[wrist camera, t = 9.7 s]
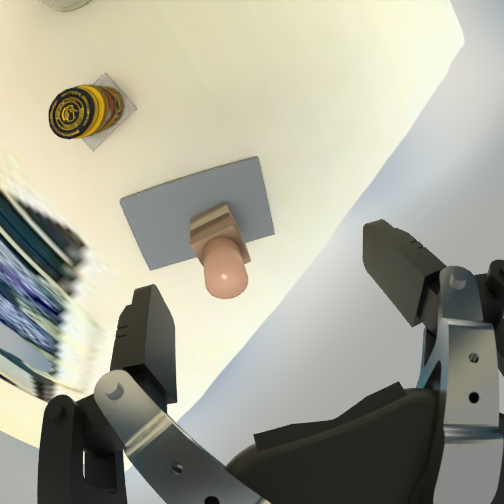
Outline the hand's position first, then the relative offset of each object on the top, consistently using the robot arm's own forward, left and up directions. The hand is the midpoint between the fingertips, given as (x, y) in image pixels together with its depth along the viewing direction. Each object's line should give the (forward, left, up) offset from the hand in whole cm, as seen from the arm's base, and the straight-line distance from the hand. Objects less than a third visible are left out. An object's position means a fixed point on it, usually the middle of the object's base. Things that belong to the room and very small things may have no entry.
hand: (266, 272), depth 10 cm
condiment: (-10, -14, -31) cm, 35 cm away
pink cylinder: (+11, -3, -22) cm, 24 cm away
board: (+9, -5, -31) cm, 32 cm away
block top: (+11, -3, -26) cm, 28 cm away
